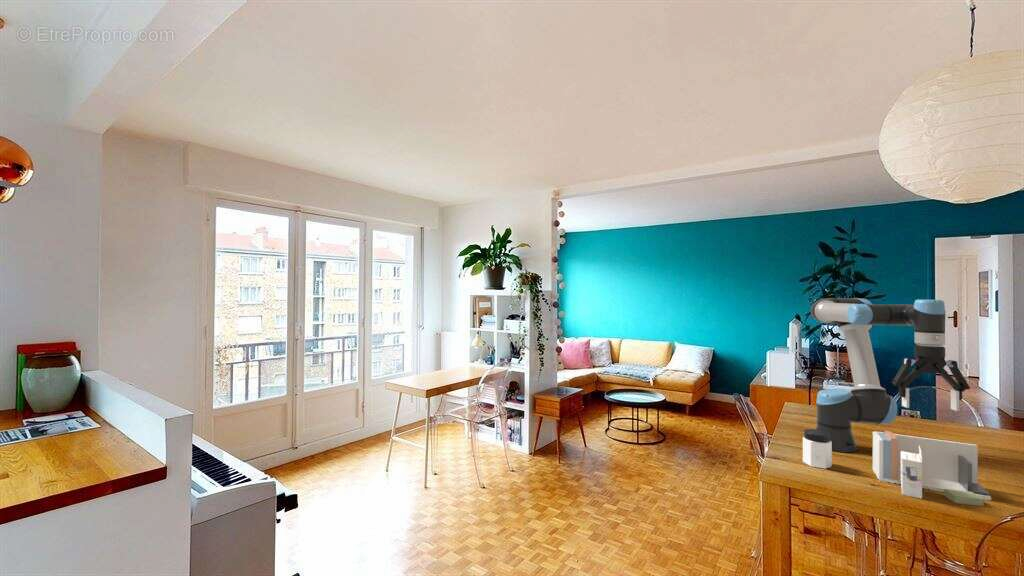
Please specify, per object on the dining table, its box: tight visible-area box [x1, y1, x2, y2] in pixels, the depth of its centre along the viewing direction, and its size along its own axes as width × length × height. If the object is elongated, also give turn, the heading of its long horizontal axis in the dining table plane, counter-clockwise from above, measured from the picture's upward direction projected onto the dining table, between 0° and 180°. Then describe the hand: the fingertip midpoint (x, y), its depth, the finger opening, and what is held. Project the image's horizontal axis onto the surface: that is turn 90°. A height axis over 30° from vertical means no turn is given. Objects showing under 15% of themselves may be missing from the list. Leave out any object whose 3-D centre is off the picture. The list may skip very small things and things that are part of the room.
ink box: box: [900, 446, 923, 500], centre depth 141 cm, size 9×5×15 cm, turn 141°
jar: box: [802, 428, 833, 470], centre depth 163 cm, size 9×8×12 cm
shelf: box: [872, 430, 992, 501], centre depth 147 cm, size 27×11×15 cm, turn 60°
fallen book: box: [943, 489, 985, 507], centre depth 135 cm, size 7×5×2 cm
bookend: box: [958, 455, 991, 496], centre depth 141 cm, size 5×8×9 cm, turn 150°
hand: (929, 408), depth 147 cm, fingers open, 13 cm apart
